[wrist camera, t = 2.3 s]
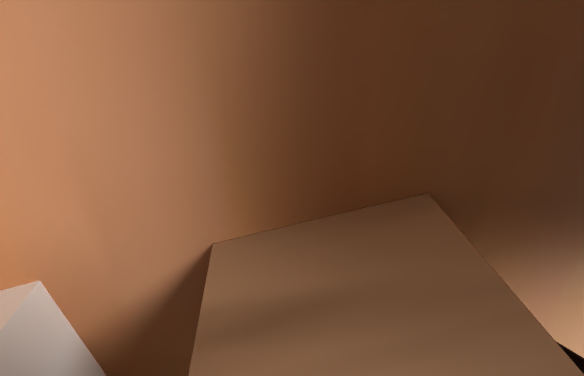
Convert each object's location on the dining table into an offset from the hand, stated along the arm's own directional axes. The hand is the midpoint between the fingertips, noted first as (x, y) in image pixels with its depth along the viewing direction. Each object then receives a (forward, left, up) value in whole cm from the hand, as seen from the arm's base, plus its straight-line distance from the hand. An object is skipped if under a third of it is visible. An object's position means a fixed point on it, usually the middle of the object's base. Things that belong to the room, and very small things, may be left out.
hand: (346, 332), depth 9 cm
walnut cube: (0, 0, -1) cm, 1 cm away
